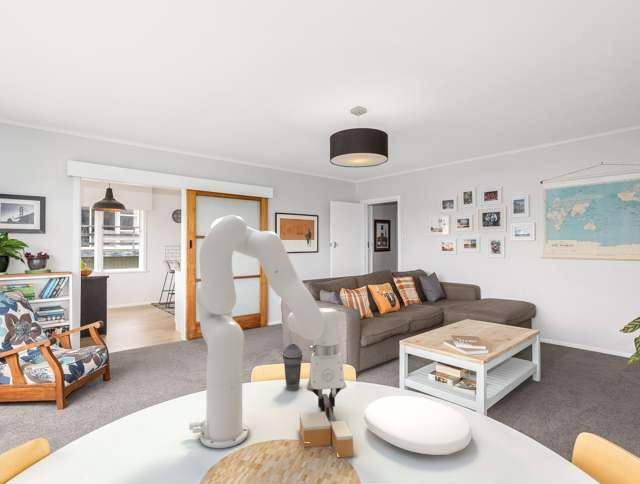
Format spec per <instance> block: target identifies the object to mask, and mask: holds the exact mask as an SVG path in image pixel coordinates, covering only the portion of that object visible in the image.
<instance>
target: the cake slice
mask: <svg viewBox="0 0 640 484" xmlns="http://www.w3.org/2000/svg"><path fill="white" fill-rule="evenodd" d="M329 423H330V425H331V446H332V449H333V451H334V453H335V455H336V454H337V453H338V455H339V456H341V458H349V457H350V458H351V457H354V435H353V434H352V432H351V429H350V428H349V426H348V423H347V422H346V420H336V421H332V422H331V421H329Z"/></svg>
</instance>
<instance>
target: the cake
mask: <svg viewBox="0 0 640 484" xmlns="http://www.w3.org/2000/svg"><path fill="white" fill-rule="evenodd" d="M299 434H300V437H301V441H302V445H303V448H310V447H316V446H315V445H318V446H317V447H321V446H330V445H331V446H332V443H331V425H330V421H329V418H327V416H326V414H325V412H322V411H314V412H301V413H299ZM303 441H304V442H310V443H304V442H303Z"/></svg>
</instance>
